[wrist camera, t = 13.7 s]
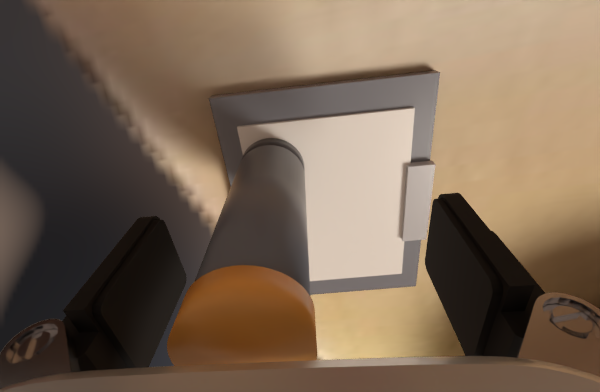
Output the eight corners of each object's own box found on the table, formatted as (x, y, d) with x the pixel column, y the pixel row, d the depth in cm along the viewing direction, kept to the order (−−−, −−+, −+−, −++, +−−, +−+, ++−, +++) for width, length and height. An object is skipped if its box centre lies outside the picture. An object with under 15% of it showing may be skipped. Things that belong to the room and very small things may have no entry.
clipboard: (437, 70, 15) (446, 73, 14) (414, 279, 22) (419, 291, 21) (211, 95, 16) (206, 101, 15) (259, 292, 23) (258, 304, 22)
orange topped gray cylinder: (301, 131, 16) (307, 296, 7) (309, 193, 17) (323, 389, 8) (231, 140, 16) (143, 312, 7) (247, 200, 18) (193, 400, 9)
